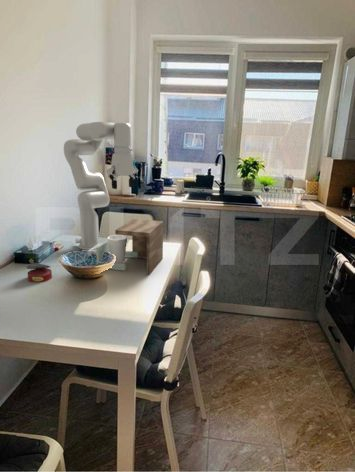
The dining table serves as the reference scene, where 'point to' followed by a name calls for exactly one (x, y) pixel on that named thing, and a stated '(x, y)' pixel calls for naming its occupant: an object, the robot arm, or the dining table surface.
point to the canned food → (39, 272)
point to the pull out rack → (104, 247)
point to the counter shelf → (145, 240)
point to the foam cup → (117, 247)
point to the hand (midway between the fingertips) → (123, 187)
